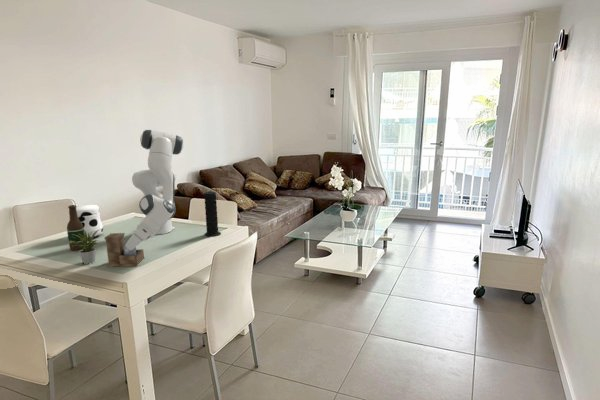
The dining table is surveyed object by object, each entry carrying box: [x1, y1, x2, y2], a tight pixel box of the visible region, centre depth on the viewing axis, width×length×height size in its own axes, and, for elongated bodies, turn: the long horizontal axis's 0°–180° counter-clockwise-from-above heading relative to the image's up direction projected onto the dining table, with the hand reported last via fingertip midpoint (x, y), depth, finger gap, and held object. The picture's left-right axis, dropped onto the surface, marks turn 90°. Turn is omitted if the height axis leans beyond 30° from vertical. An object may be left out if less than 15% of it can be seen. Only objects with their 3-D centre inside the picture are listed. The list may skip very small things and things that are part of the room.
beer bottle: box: [66, 204, 84, 252], centre depth 205 cm, size 8×8×24 cm
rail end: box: [123, 240, 137, 255], centre depth 184 cm, size 4×4×8 cm
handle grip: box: [203, 190, 222, 238], centre depth 227 cm, size 10×26×10 cm
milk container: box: [76, 204, 104, 240], centre depth 227 cm, size 17×17×18 cm
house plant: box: [68, 229, 101, 265], centre depth 186 cm, size 14×14×16 cm
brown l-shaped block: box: [104, 232, 145, 267], centre depth 184 cm, size 14×10×14 cm
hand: (128, 249), depth 184 cm, fingers closed on rail end, 4 cm apart
